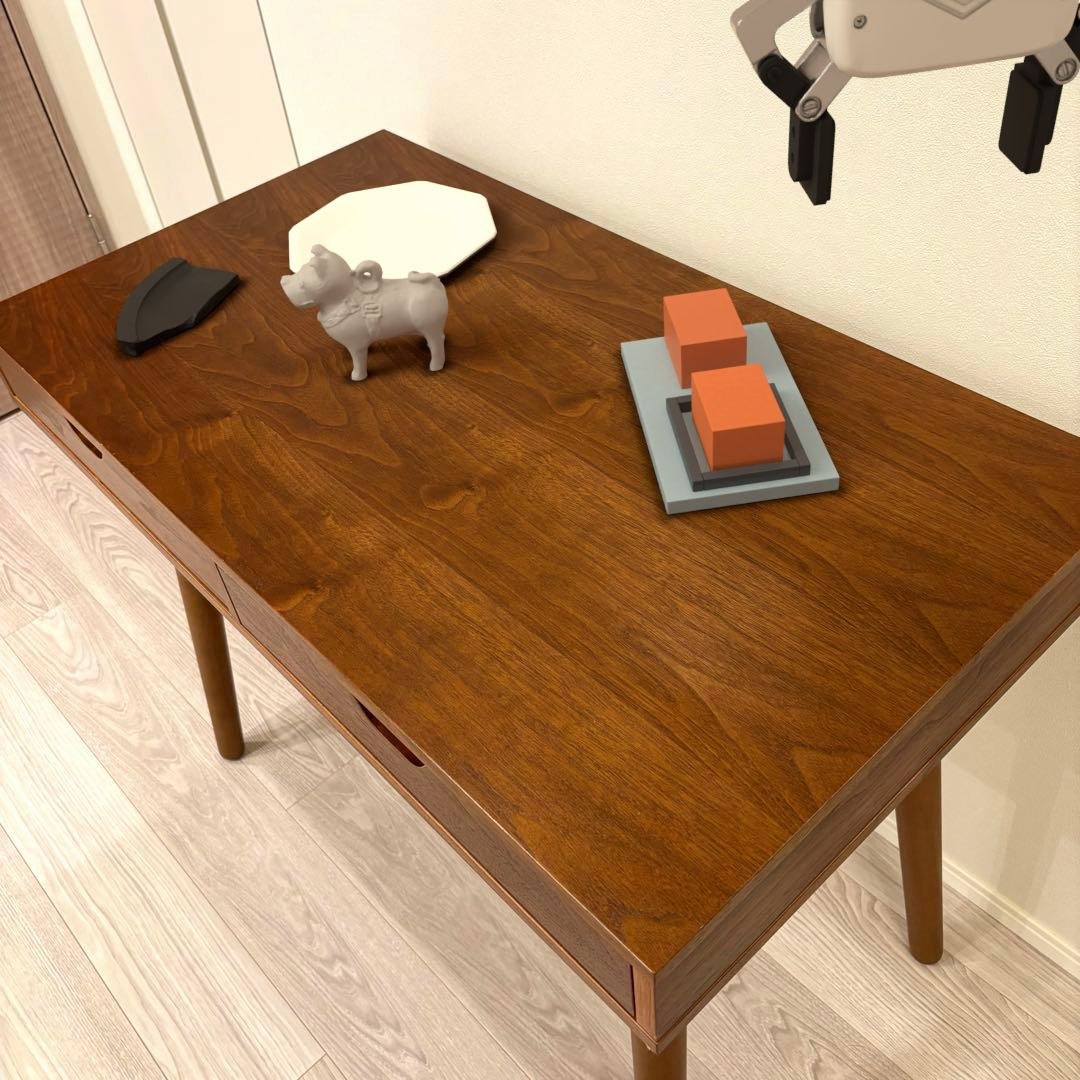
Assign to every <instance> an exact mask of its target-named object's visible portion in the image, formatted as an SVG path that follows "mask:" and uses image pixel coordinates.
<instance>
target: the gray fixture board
mask: <svg viewBox="0 0 1080 1080" xmlns="http://www.w3.org/2000/svg"><path fill="white" fill-rule="evenodd" d="M662 298H663V299H662V300H663V336H659V337H658V336H657V337H652V338H646V339H639V340H631V341H624V342H621V343H620V353H621V355H620V356H621V358H622V362H623V365H624V368H625V372H626V376H627V379H628V383H629V386H630V389H631V393H632V396H633V400H634V404H635V407H636V410H637V414H638V416H639V421H640V424H641V427H642V431H643V435H644V438H645V442H646V445H647V448H648V452H649V455H650V459H651V463H652V466H653V469H654V472H655V476H656V479H657V483H658V487H659V490H660V495H661V497H662V500H663V504H664V507H665V511H666V514H667V515H675V514H682V513H688V512H695V511H703V510H710V509H715V508H722V507H729V506H735V505H743V504H749V503H756V502H757V503H758V502H763V501H771V500H777V499H786V498H791V497H798V496H804V495H806V496H807V495H811V494H813V495H814V494H819V493H825V492H833V491H838V490H839V489H840V488H839V487H840V480H841V479H840V478H841V477H840V474H839V473H838V470H837V467H836V466H835V463H834V462H833V460H832V457H831V456H830V453H829V451H828V449H827V447H826V445H825V443H824V441H823V439H822V436H821V434H820V432H819V430H818V429H817V426H816V424H815V422H814V420H813V417H812V415H811V414H810V413H811V412H810V411H809V409H808V407H807V405H806V403H805V401H804V398H803V397H802V394H801V392H800V390H799V388H798V386H797V384H796V382H795V379H794V377H793V375H792V373H791V371H790V369H789V367H788V365H787V363H786V361H785V359H784V355H783V354H782V352H781V350H780V348H779V345H778V343H777V341H776V340H775V337H774V334H773V333H772V330H771V329H770V327H769V325H768V322H766V321H763V322H757V323H750V324H743V323H742V321H741V318H740V317H739V313H738V312H737V310H736V307H735V305H734V303H733V300H732V298H731V296H730V294H729V292H728V289H727V287H723V288H716V289H715V288H714V289H708V290H701V291H694V292H689V293H680V294H674V295H673V294H672V295H667V296H663V297H662ZM757 363H760V365H761V367H762V369H763V372H764V374H765V376H766V378H767V381H768V383H769V385H770V387H771V390H772V392H773V394H774V397H775V399H776V401H777V403H778V406H779V408H780V410H781V412H782V415H783V417H784V419H785V435H784V451H783V461H779V462H772V463H765V464H758V465H752V466H745V467H738V468H731V469H724V470H717V471H710V468H709V466H708V463H707V460H706V457H705V454H704V451H703V448H702V445H701V442H700V439H699V436H698V434H697V431H696V428H695V425H694V422H693V419H692V387H691V374H692V373H695V372H702V371H709V370H716V369H723V368H730V367H737V366H744V365H751V364H757Z"/></svg>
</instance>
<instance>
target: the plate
mask: <svg viewBox="0 0 1080 1080" xmlns="http://www.w3.org/2000/svg"><path fill="white" fill-rule="evenodd" d="M497 235H498V232H497V228H496V225H495V222H494V219H493V215H492V211H491V209H490V206H489V202H488V199H487V197H485V196H484V195H482V194H481V193H476V192H472V191H468V190H465V189H459V188H455V187H452V186H448V185H444V184H439V183H435V182H431V181H426V180H416V181H415V180H414V181H409V182H403V183H398V184H392V185H386V186H381V187H374V188H369V189H363V190H357V191H352V192H348V193H344V194H341V195H340V196H338V197H336V198H335V199H334V200H332V201H331V202H330V201H329V203H327V204H325V205H324V206H322V207H321V208H320V209H318V210H316V211H315V212H314V213H311V214H310V215H309V216H308V217H305V218H304V219H303V220H301V221H300V222H297V224H295V225H293V226H292V227H291V229H290V230H289V231H288V253H289V254H288V255H289V258H288V259H289V270H290V271H291V272H292V273H293V274H295V273H297V272H298V271H299V270H300V268H301V267H302V265H304V264H306V263H308V262H309V261H310V258H312V257H315V256H314V254H313V253H311V249H312V246H314V245H316V244H321V245H322V246H324V247H325V248H326V249H328V250H329V251H332V252H334V253H336V254H338V255H339V256H341V257H342V258H343V259H344V260H345V261H346V262H347V263H348V265H349V267H350V268H351V270H354V269H355V268H356V266H357V265H358V264H359V263H360V262H362V261H365V260H373V261H375V262H377V263H378V264H380V266H381V268H382V271H383V274H382V278H386V279H399V278H408V273H409V272H410V271H417V272H419V273H427V272H430V273H433V274H434V275H436V276H437V277H438V278H439V279H440V280H441V279H443V278H444V277H445V278H446V277H447V276H449V275H450V274H452V273H453V272H454V271H455V270H457V269H458V268H460V267H461V266H462V265H463V264H465V263H466V262H467V261H468V260H470V259H471V258H473V257H474V256H475V255H476V254H478V253H479V252H480V251H481V250H483V249H484V248H485V247H487V246H489V244H491V243H492V242H493V241H494V240H495V239H496V237H497ZM364 274H365V275H371V274H370V273H368V272H366V273H364Z"/></svg>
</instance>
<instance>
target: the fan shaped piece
mask: <svg viewBox="0 0 1080 1080" xmlns="http://www.w3.org/2000/svg"><path fill="white" fill-rule="evenodd" d="M240 281H241V279H240V277H239V274H238V273H237V272H235V271H234V272H233V271H230V270H224V269H220V268H211V267H202V266H195V265H193V264H191V262H189V261H188V260H187V259H186V258H184V257H171V258H170V259H168V260H167V261H165V262H163V264H162V263H161V265H159V266H158V267H156V268H155V269H154V270H153V271H152V272H150V273H149V274H148V275H146V276H145V278H143V280H141V281H140V282H139V283H138V284H137V286H135V288H133V290H132V291H131V292H130V294H129V295H128V297H127V298H126V300H125V301H124V303H123V305H122V308H121V310H120V312H119V315H118V319H117V321H116V322H117V323H116V340H117V341H118V343H119V344H120V346H121V349H122V352H123V353H125V354H126V355H129V356H132V357H138V356H139V355H141V354H142V353H144V352H145V351H147V350H149V349H151V348H152V347H154V346H156V344H159V343H160V342H162V341H164V340H166V339H168V338H170V337H173V336H175V335H177V334H179V333H181V332H184V331H186V330H189V329H191V328H193V327H195V326H196V325H197V324H198V323H200V322H201V321H202V320H203V319H204V318H205V317H206V316H207V315H208V314H209V313H210V312H211V311H212V310H214V309H215V307H216V306H217V305H218V304H219V303H221V302H222V300H223V299H224V298H225V297H226V296H227V295H228V294H229V293H230V292H231V291H232V290H233V289H234V288H235V287H236V286H237V285H239V284H240V283H241V282H240Z"/></svg>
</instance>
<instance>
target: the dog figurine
mask: <svg viewBox="0 0 1080 1080" xmlns="http://www.w3.org/2000/svg"><path fill="white" fill-rule="evenodd" d="M311 253H313V254H314V256H315V257H312V258H310V261H309V262H308V263H306V264H304V265H302V267H301V268H300V270H299V271H298V272H297V273H295V274H294V273H293V274H288V275H287V274H286V275H282V276H281V279H280V286H281V288H282V289H283V292H284V294H285V295H286V297H287V298H288V299H289V301H290V302H291V303H292V304H293V305H294V306H295V307H296V308H298V309H300V310H307V309H310V308H313V307H316V306H318V307H319V311H318V312H317V315H316V316H317V317H316V318H317V322H319V323H320V324H321V326H322V327H323V329H324V330H325V332H326V333H327V335H329V337H331V338H332V339H333V340H335V341H336V342H338V343H340V344H341V345H342V346H344V347H345V348H346V349H347V350H348V352H349V353H350V356H351V358H352V362H353V363H352V364H353V369H352V372H351V380H352V381H362V380H365V379H366V378H367V377H368V372H367V371H368V370H367V368H368V365H367V364H368V349H369V347H370V346H371V345H372V344H373V343H376V342H379V341H384V340H389V339H394V338H400V337H405V336H421V337H424V338H425V340H426V346H427V347H428V348H429V351H430V355H431V360H430V362H429V370H430V371H432V372H436V371H440V370H442V369H443V368H444V365H445V361H446V354H445V338H446V335H445V331H444V328H445V325H446V322H447V320H448V319H447V318H448V314H449V300H448V297H447V296H448V295H447V290H446V288H445V285H444V284H443V283H442V281H441V278H440V279H439V278H438V277H437V276H436V275H434V274H433V273H430V272H427V273H419V272H417V271H410V272H409V273H408V278H399V279H386V278H382V274H383V271H382V268H381V266H380V264H378V263H377V262H375V261H373V260H365V261H362V262H360V263H359V264H358V265H357V266H356V268H355V269H354V270H351V268H350V267H349V265H348V263H347V262H346V261H345V260H344V259H343V258H342V257H341V256H339V255H338V254H336V253H334V252H332V251H329V250H328V249H326V248H325V247H324V246H322V245H321V244H316V245H314V246H312V249H311ZM366 272H368V273H370V274H371V275H365V274H364V273H366Z"/></svg>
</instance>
